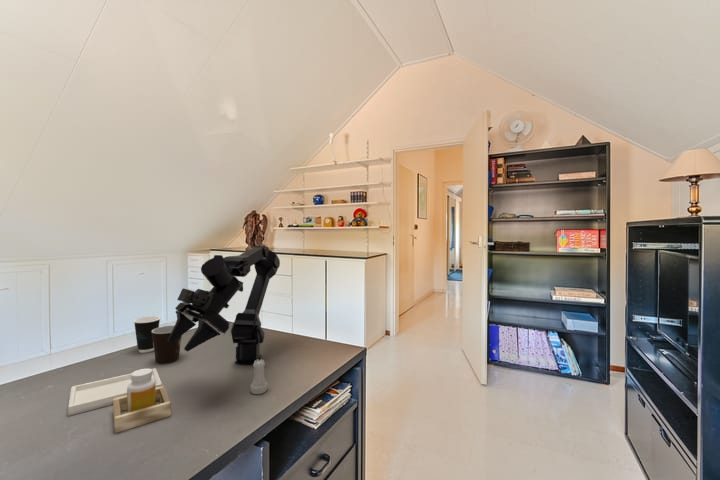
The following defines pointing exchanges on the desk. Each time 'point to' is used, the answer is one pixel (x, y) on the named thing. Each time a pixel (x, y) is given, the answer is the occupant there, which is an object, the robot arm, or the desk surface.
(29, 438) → the desk surface
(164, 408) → the holder sleeve
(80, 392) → the tray
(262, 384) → the rook chess piece
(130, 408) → the supplement bottle
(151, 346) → the dixie cup
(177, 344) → the brown paper tapered cylinder
